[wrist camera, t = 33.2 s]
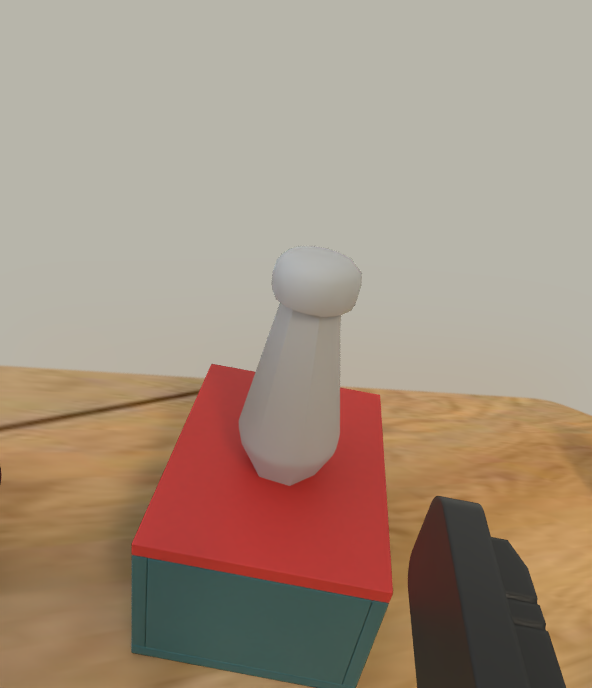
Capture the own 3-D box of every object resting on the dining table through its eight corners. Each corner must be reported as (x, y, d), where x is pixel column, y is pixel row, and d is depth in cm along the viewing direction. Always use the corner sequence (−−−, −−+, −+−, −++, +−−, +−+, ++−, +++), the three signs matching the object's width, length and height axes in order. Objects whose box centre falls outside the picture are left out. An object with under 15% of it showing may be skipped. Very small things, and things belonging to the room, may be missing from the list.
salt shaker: (279, 416, 36) (313, 226, 29) (350, 462, 33) (404, 264, 26) (214, 456, 32) (235, 245, 25) (287, 513, 29) (333, 292, 22)
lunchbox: (200, 462, 44) (208, 378, 40) (354, 491, 44) (378, 409, 39) (130, 653, 30) (131, 555, 26) (353, 695, 30) (389, 604, 26)
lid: (210, 372, 40) (211, 363, 40) (377, 403, 40) (380, 394, 40) (130, 555, 26) (131, 544, 26) (389, 603, 26) (393, 593, 26)
